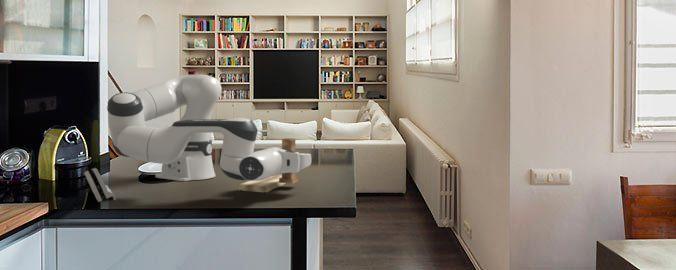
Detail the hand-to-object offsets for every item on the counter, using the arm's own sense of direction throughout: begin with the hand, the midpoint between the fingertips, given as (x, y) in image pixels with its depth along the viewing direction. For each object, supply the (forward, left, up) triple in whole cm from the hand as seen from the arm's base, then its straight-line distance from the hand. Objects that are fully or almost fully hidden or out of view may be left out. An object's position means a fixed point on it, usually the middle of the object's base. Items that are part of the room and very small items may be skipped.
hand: (289, 155), depth 177 cm
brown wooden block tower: (0, -1, -9) cm, 9 cm away
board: (-9, 0, -11) cm, 14 cm away
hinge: (-52, -33, -11) cm, 62 cm away
